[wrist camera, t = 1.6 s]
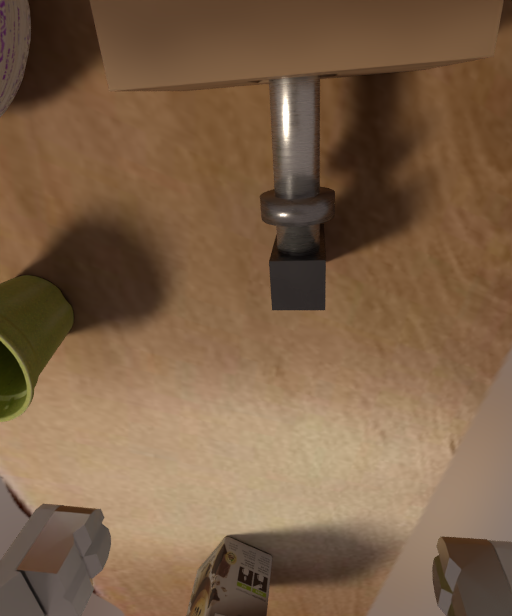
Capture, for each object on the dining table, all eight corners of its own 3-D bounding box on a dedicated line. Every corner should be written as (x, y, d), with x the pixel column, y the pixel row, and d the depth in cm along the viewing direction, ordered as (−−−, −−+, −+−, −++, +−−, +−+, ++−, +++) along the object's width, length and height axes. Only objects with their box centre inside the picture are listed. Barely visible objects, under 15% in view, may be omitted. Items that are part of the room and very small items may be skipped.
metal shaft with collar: (253, -103, 20) (226, -185, 14) (336, -116, 19) (345, -208, 13) (274, 266, 29) (263, 310, 23) (330, 265, 28) (334, 310, 22)
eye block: (165, -35, 22) (63, -121, 13) (439, -73, 19) (539, -207, 11) (183, 91, 24) (109, 91, 16) (424, 69, 22) (493, 56, 14)
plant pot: (101, 279, 32) (33, 338, 24) (88, 367, 36) (28, 440, 29) (-14, 238, 31) (-119, 285, 24) (-12, 332, 36) (-100, 397, 28)
